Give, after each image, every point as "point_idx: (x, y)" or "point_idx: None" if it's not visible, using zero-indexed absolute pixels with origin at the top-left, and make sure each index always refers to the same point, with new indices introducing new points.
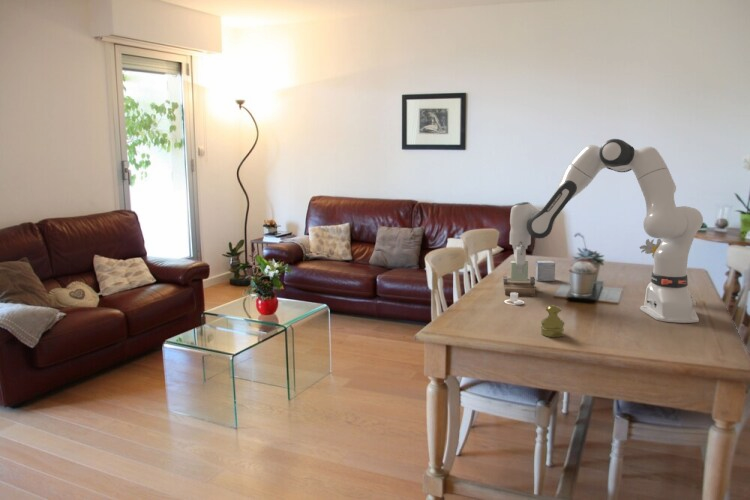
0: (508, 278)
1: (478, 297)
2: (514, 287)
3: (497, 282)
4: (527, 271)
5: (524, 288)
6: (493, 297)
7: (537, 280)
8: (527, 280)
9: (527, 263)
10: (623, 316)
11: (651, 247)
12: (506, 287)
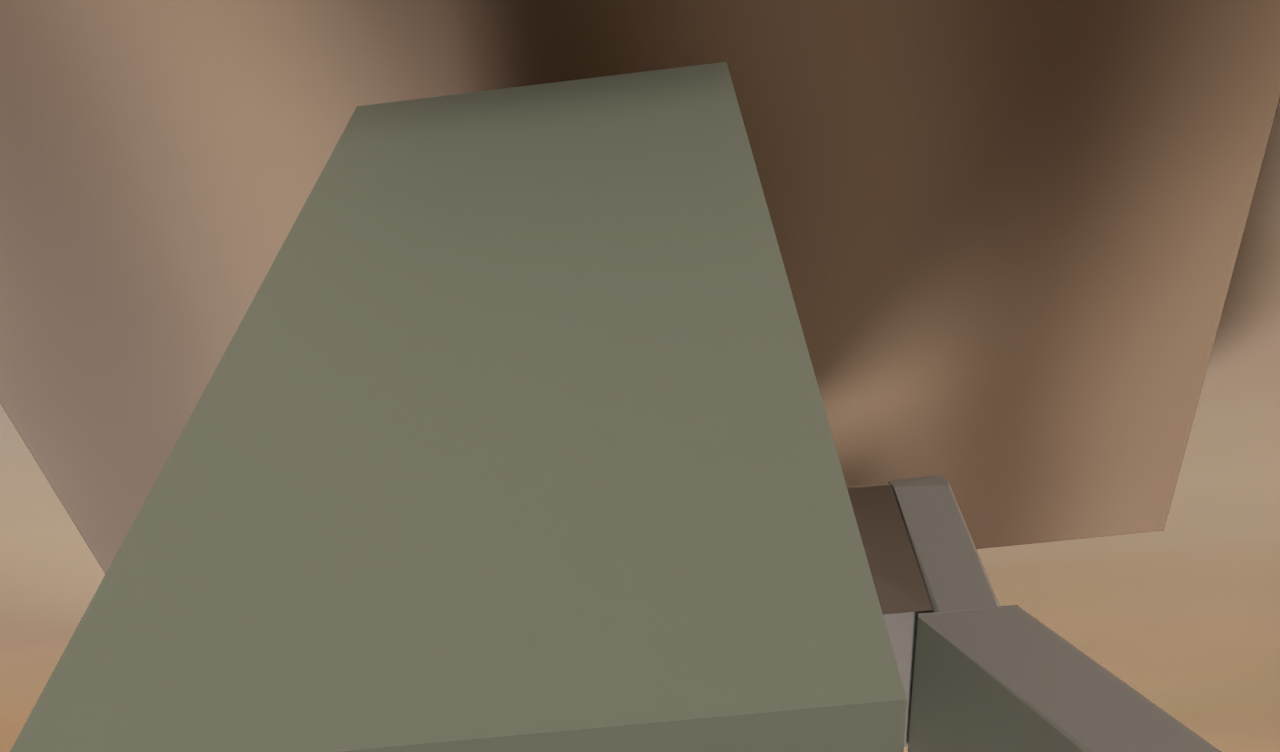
0: (105, 552)
1: (1214, 734)
2: (1085, 359)
3: (63, 620)
4: (779, 285)
5: (1237, 89)
6: (1242, 572)
7: None
8: (728, 79)
9: (900, 702)
10: None
11: None
12: (1083, 517)
